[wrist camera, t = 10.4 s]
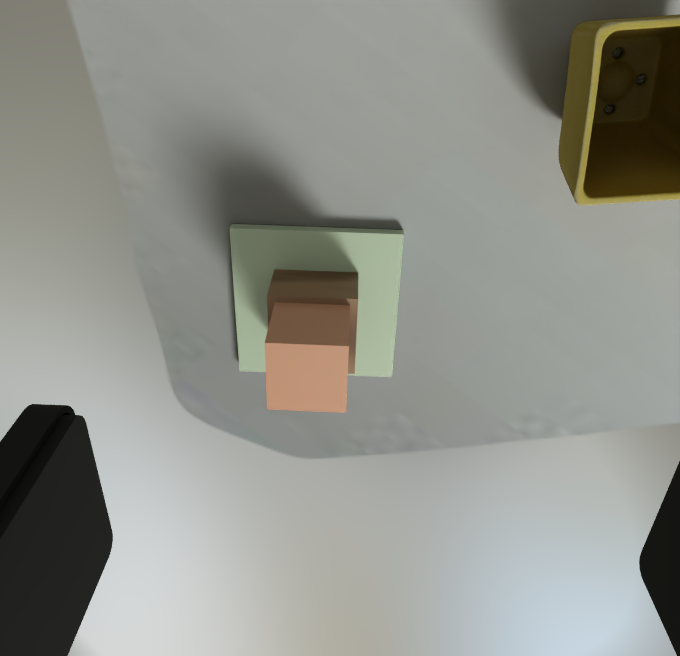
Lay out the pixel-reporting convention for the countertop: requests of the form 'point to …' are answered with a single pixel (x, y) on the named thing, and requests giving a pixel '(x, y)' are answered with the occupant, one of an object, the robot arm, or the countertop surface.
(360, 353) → the plate
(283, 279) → the base block
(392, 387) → the countertop surface
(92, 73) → the countertop surface
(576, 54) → the flower pot
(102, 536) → the robot arm
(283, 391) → the cube
